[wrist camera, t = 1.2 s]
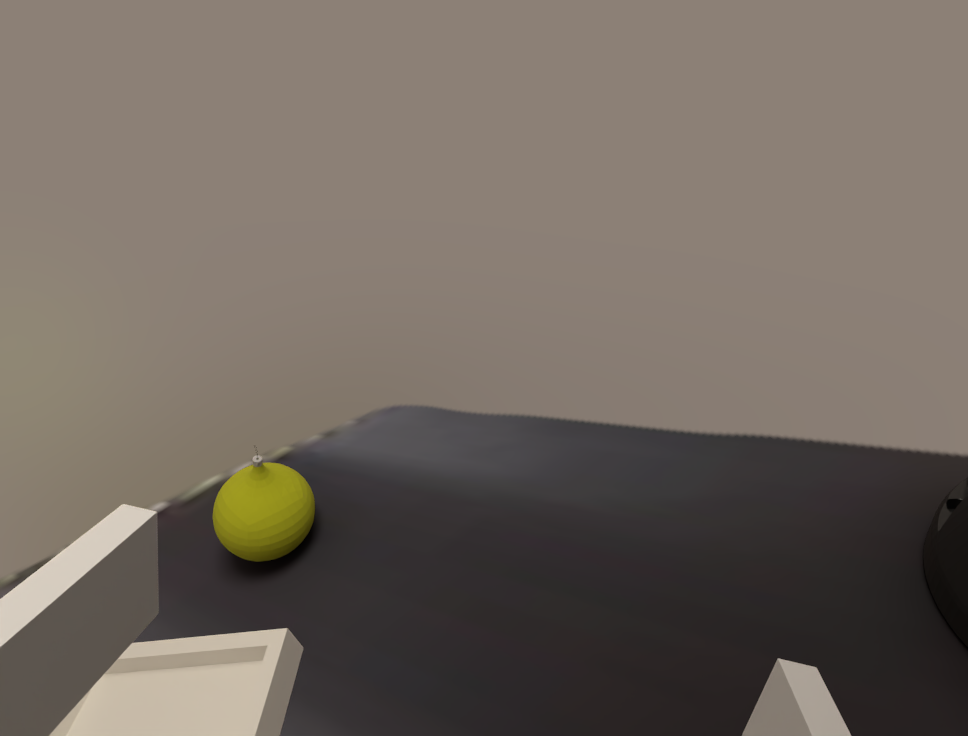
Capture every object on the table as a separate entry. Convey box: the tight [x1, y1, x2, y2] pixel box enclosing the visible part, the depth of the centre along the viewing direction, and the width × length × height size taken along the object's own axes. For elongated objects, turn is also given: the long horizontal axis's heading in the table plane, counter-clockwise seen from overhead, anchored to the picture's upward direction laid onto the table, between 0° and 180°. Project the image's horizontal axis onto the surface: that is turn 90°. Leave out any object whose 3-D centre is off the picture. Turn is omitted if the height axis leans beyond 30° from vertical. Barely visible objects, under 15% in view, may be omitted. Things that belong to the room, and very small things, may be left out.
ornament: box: [213, 455, 315, 562], centre depth 43 cm, size 7×7×10 cm
